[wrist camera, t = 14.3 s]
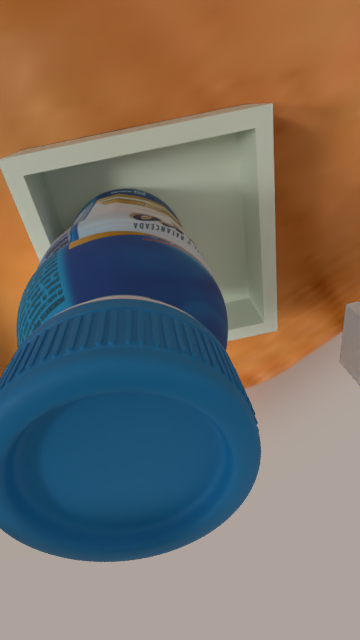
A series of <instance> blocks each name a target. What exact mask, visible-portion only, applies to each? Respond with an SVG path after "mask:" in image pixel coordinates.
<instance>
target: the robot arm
mask: <svg viewBox="0 0 360 640" xmlns="http://www.w3.org/2000/svg"><path fill="white" fill-rule="evenodd" d="M340 363H341V364H342V365H343V366H344V367H345V369H346V370H347V371H348V372H349V373H350V375H351V376H352V377H353V378H354V379H355V381H356V382H357V383H358V384H359V385H360V301H357V302H353V303H348V304H346V308H345V317H344V326H343V336H342V345H341V353H340Z"/></svg>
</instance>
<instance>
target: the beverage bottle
mask: <svg viewBox="0 0 360 640" xmlns="http://www.w3.org/2000/svg"><path fill="white" fill-rule="evenodd" d="M227 339H228V318H227V311H226V306H225V302H224V299H223V296H222V293H221V291H220V289H219V287H218V285H217V283H216V281H215V279H214V278H213V275H212V272H211V269H210V267H209V265H208V263H207V261H206V259H205V257H204V255H203V254H202V252H201V251H200V250H199V248H198V247H197V246H196V245H195V243H194V242H193V241H192V240H191V239H190V238H189V237H188V236H187V234H186V233H185V231H184V230H183V228H182V226H181V224H180V222H179V220H178V218H177V216H176V215H175V213H174V212H173V211H172V210H171V208H170V207H169V206H168V205H167V204H165V203H164V202H163V201H162V200H160V199H159V198H157V197H156V196H154V195H152V194H150V193H147V192H145V191H141V190H137V189H129V188H123V189H115V190H111V191H107V192H105V193H102V194H100V195H98V196H96V197H95V198H93V199H92V200H91V201H89V202H88V203H87V204H86V205H85V206H84V207H83V209H82V210H81V211H80V212H79V214H78V215H77V217H76V219H75V221H74V223H73V225H72V227H71V228H69V229H68V230H66V231H65V232H64V233H62V234H61V235H60V236H59V237H58V238H57V239H56V240H55V241H54V242H53V243H52V245H51V246H50V247H49V249H48V250H47V251H46V253H45V254H44V256H43V258H42V260H41V262H40V264H39V266H38V268H37V270H36V272H35V273H34V274H33V276H32V277H31V279H30V281H29V282H28V284H27V286H26V288H25V290H24V293H23V295H22V298H21V301H20V305H19V310H18V316H17V344H18V350H17V351H16V353H15V354H14V356H13V358H12V359H11V361H10V363H9V365H8V366H7V367H6V369H5V371H4V372H3V374H2V376H1V378H0V528H1V529H2V530H3V531H4V532H5V533H7V534H8V535H10V536H11V537H13V538H14V539H16V540H18V541H19V542H21V543H23V544H25V545H27V546H29V547H32V548H34V549H37V550H39V551H42V552H45V553H48V554H51V555H56V556H59V557H64V558H68V559H74V560H82V561H94V562H95V561H96V562H115V561H128V560H135V559H142V558H147V557H151V556H156V555H159V554H163V553H166V552H169V551H172V550H175V549H178V548H180V547H183V546H185V545H187V544H190V543H192V542H194V541H196V540H198V539H200V538H201V537H203V536H205V535H207V534H208V533H210V532H211V531H213V530H214V529H216V528H217V527H218V526H220V525H221V524H222V523H223V522H225V521H226V520H227V519H228V518H229V517H230V516H231V515H232V514H233V513H234V512H235V511H236V510H237V509H238V508H239V507H240V505H241V504H242V503H243V502H244V500H245V499H246V497H247V496H248V494H249V492H250V490H251V489H252V487H253V484H254V482H255V480H256V477H257V474H258V470H259V466H260V457H261V446H260V437H259V430H258V427H257V420H256V418H255V412H254V410H253V408H252V405H251V402H250V401H249V398H248V396H247V394H246V392H245V389H244V387H243V385H242V383H241V380H240V378H239V376H238V374H237V372H236V369H235V368H234V366H233V364H232V362H231V360H230V358H229V356H228V354H227V352H226V347H227Z"/></svg>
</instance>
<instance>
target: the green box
mask: <svg viewBox="0 0 360 640" xmlns="http://www.w3.org/2000/svg"><path fill="white" fill-rule="evenodd" d="M0 169H1V171H2V173H3V176H4V178H5V180H6V183H7V185H8V188H9V190H10V192H11V195H12V197H13V199H14V202H15V204H16V207H17V209H18V211H19V214H20V216H21V218H22V221H23V223H24V225H25V228H26V230H27V233H28V235H29V237H30V240H31V242H32V244H33V247H34V249H35V252H36V254H37V256H38V259H39V261H40V262H41V260H42V258H43V256H44V254H45V253H46V251H47V250H48V249H49V247H50V246H51V245H52V243H53V242H54V241H55V240H56V239H57V238H58V237H59V236H60V235H61V234H62V233H64V232H65V231H66V230H68V229H69V228H71V227H72V225H73V223H74V221H75V219H76V217H77V215H78V214H79V212H80V211H81V210H82V209H83V207H84V206H85V205H86V204H87V203H88V202H89V201H91V200H92V199H93V198H95V197H96V196H98V195H100V194H102V193H105V192H107V191H111V190H115V189H123V188H129V189H137V190H141V191H145V192H147V193H150V194H152V195H154V196H156V197H157V198H159V199H160V200H162V201H163V202H164V203H165V204H167V205H168V206H169V207H170V208H171V210H172V211H173V212H174V213H175V215H176V216H177V218H178V220H179V222H180V224H181V226H182V228H183V230H184V231H185V233H186V234H187V236H188V237H189V238H190V239H191V240H192V241H193V242H194V243H195V245H196V246H197V247H198V248H199V250H200V251H201V252H202V254H203V255H204V257H205V259H206V261H207V263H208V265H209V267H210V269H211V272H212V275H213V278H214V279H215V281H216V283H217V285H218V287H219V289H220V291H221V293H222V296H223V299H224V302H225V306H226V311H227V318H228V339H227V341H231V340H236V339H241V338H246V337H250V336H255V335H260V334H264V333H269V332H274V331H278V326H277V279H276V232H275V185H274V138H273V103H265V104H244V105H239V106H234V107H229V108H224V109H219V110H215V111H210V112H205V113H200V114H195V115H190V116H185V117H180V118H176V119H171V120H166V121H161V122H156V123H151V124H146V125H141V126H136V127H132V128H127V129H122V130H117V131H112V132H107V133H102V134H97V135H93V136H88V137H83V138H78V139H73V140H68V141H63V142H58V143H54V144H49V145H44V146H39V147H34V148H29V149H24V150H21V151H18V152H16V153H13V154H11V155H8V156H5V157H3V158H0Z"/></svg>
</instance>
